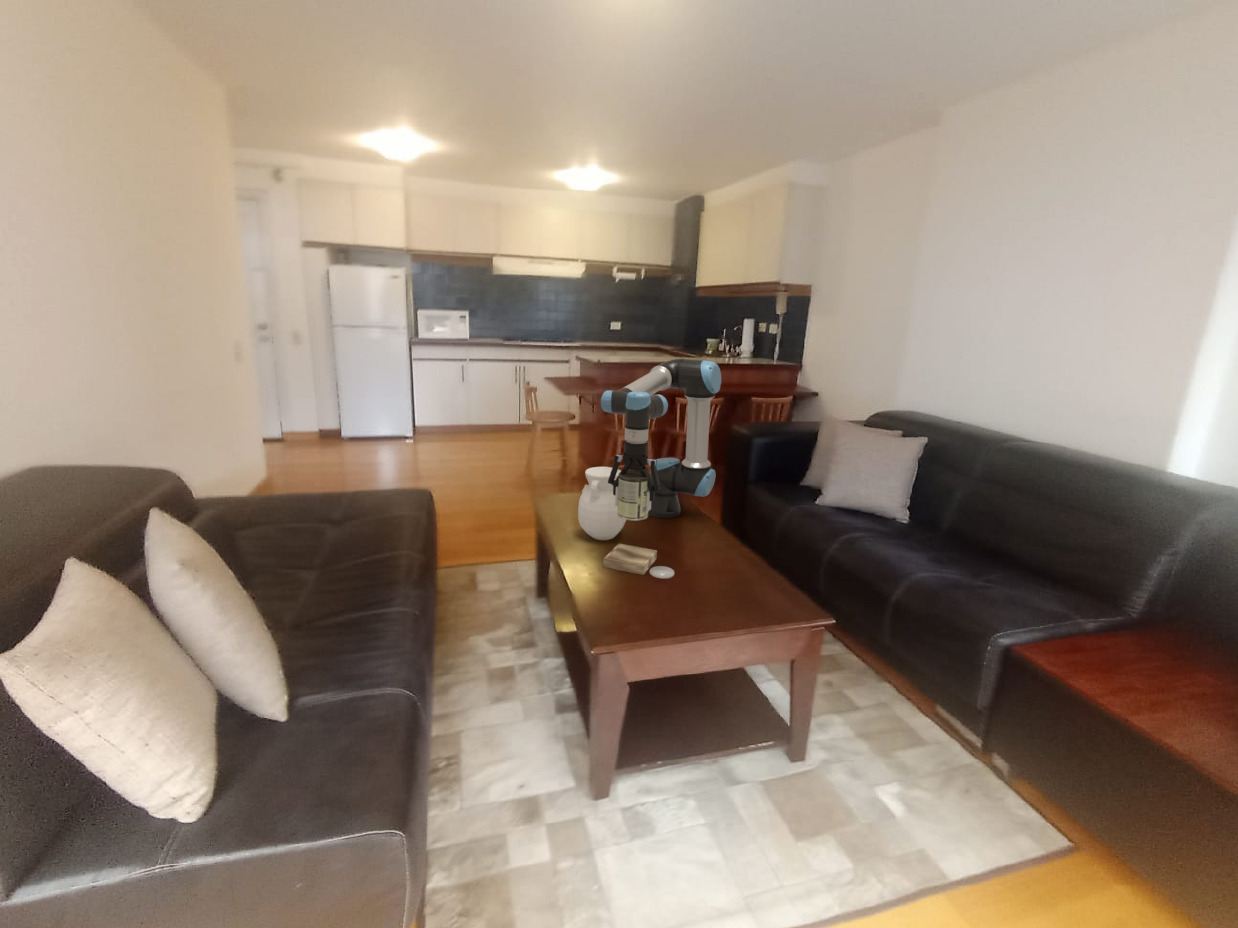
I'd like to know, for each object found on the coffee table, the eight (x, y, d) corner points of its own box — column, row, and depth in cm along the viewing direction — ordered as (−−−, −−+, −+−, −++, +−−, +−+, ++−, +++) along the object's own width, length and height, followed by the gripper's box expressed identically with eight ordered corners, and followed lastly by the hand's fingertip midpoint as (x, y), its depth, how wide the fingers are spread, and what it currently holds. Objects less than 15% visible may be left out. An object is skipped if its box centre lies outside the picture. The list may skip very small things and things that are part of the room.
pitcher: (592, 523, 228) (593, 462, 222) (634, 532, 221) (637, 469, 214) (567, 538, 212) (568, 473, 206) (612, 549, 204) (615, 481, 198)
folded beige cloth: (618, 551, 203) (618, 542, 202) (656, 558, 198) (657, 549, 197) (603, 566, 190) (603, 557, 189) (643, 575, 185) (643, 565, 185)
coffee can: (620, 508, 195) (622, 468, 192) (650, 511, 194) (652, 471, 190) (613, 518, 186) (615, 476, 182) (645, 522, 184) (647, 480, 180)
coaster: (653, 565, 192) (654, 564, 192) (677, 570, 190) (677, 568, 189) (646, 575, 185) (646, 573, 185) (670, 580, 182) (670, 578, 182)
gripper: (598, 439, 184) (596, 505, 189) (667, 447, 176) (662, 516, 182) (607, 435, 190) (605, 499, 196) (673, 443, 183) (669, 509, 188)
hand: (632, 507), depth 189 cm, fingers closed on coffee can, 10 cm apart
